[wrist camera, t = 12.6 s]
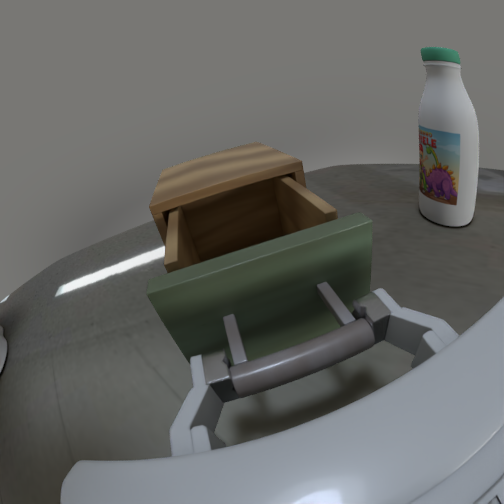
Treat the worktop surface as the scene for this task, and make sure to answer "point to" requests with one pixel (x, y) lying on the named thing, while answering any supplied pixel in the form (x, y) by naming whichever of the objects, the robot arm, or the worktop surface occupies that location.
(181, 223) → the drawer
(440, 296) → the worktop surface
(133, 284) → the worktop surface
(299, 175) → the cabinet
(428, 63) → the milk bottle
